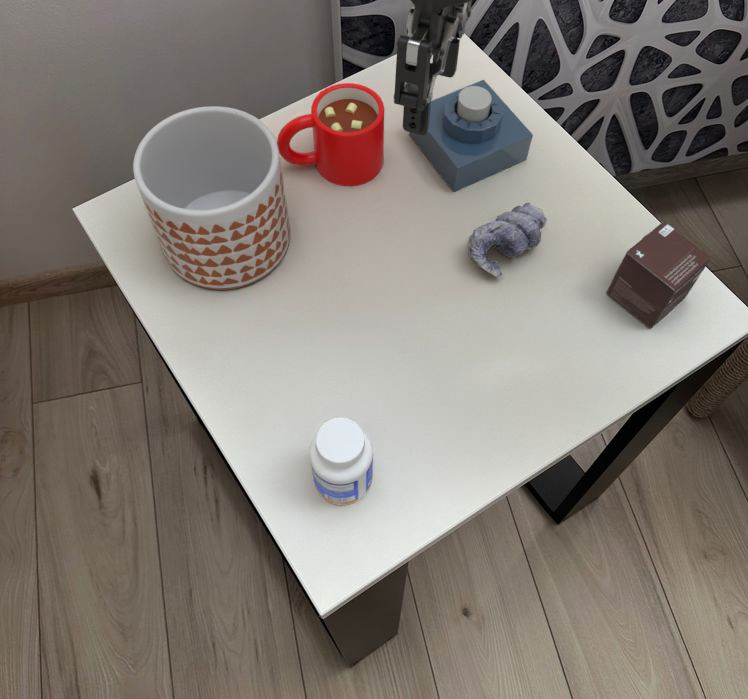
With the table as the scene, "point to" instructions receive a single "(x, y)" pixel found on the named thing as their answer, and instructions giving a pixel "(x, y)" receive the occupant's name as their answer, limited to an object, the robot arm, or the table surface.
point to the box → (657, 274)
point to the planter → (215, 195)
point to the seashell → (507, 236)
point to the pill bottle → (341, 461)
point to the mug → (341, 134)
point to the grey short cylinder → (474, 104)
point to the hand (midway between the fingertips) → (430, 101)
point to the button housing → (472, 140)
